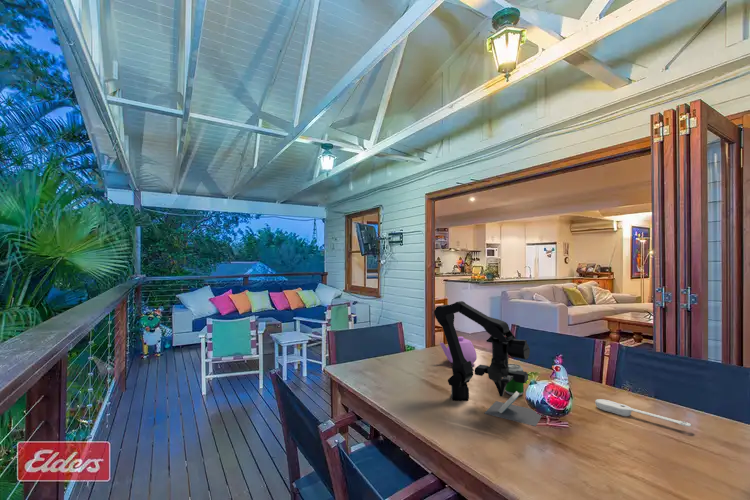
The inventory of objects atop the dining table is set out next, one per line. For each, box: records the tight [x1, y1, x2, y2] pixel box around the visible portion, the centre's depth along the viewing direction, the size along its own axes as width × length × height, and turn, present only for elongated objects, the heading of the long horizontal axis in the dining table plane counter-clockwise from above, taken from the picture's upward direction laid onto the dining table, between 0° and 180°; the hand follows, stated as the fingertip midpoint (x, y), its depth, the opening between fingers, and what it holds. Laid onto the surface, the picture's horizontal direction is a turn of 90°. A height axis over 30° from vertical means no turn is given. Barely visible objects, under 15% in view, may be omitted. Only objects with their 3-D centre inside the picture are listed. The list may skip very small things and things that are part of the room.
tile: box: [498, 391, 519, 413], centre depth 133 cm, size 2×7×8 cm
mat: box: [484, 400, 543, 427], centre depth 132 cm, size 18×14×1 cm
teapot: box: [439, 335, 477, 367], centre depth 197 cm, size 20×20×15 cm
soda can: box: [504, 363, 525, 397], centre depth 151 cm, size 8×8×12 cm
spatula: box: [594, 398, 692, 427], centre depth 126 cm, size 28×6×3 cm, turn 39°
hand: (501, 396), depth 135 cm, fingers closed
